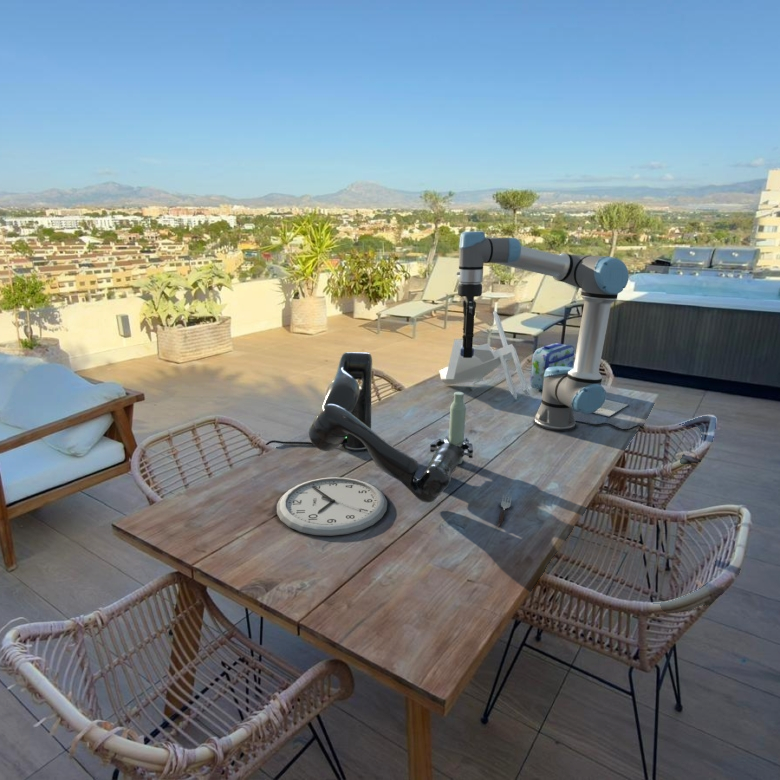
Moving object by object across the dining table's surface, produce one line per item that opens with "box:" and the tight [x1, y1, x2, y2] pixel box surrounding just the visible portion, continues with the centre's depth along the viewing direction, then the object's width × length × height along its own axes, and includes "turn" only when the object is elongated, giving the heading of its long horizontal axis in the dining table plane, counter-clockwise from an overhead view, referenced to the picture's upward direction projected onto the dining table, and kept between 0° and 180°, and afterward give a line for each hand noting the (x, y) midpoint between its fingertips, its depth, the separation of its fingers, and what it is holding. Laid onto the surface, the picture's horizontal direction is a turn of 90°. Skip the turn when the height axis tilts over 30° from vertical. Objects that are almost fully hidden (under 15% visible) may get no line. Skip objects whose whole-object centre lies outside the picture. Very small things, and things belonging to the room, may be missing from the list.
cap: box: [460, 347, 474, 356], centre depth 170 cm, size 4×4×2 cm
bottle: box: [448, 391, 467, 465], centre depth 168 cm, size 5×5×23 cm
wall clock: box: [276, 476, 388, 537], centre depth 142 cm, size 30×2×30 cm
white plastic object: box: [438, 310, 531, 400], centre depth 245 cm, size 37×45×31 cm
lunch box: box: [530, 342, 575, 391], centre depth 250 cm, size 26×11×21 cm, turn 134°
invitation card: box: [592, 398, 629, 418], centre depth 226 cm, size 21×1×15 cm
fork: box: [497, 493, 513, 528], centre depth 139 cm, size 3×16×2 cm, turn 160°
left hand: (457, 439), depth 171 cm, fingers closed on bottle, 5 cm apart
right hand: (467, 355), depth 170 cm, fingers closed on cap, 4 cm apart
